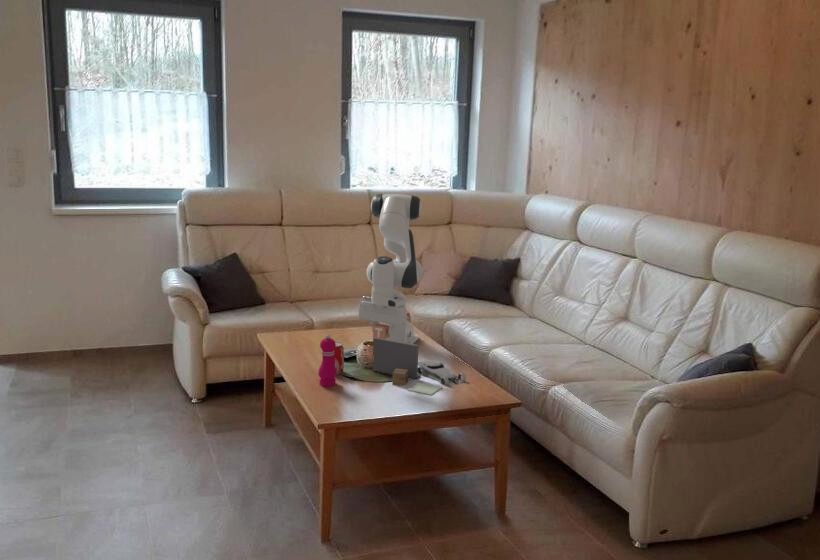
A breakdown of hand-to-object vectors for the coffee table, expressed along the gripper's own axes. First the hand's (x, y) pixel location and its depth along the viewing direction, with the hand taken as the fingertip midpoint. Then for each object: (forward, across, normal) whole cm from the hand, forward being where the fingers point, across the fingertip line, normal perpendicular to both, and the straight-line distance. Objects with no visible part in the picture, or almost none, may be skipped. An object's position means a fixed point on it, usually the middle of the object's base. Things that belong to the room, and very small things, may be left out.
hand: (382, 333), depth 302 cm
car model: (+20, +17, +17) cm, 31 cm away
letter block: (+2, 0, 0) cm, 2 cm away
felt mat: (+19, +19, +1) cm, 27 cm away
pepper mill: (+20, -15, -15) cm, 29 cm away
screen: (+19, +1, +10) cm, 22 cm away
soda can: (+20, -21, -2) cm, 28 cm away
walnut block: (+20, +8, +1) cm, 21 cm away
